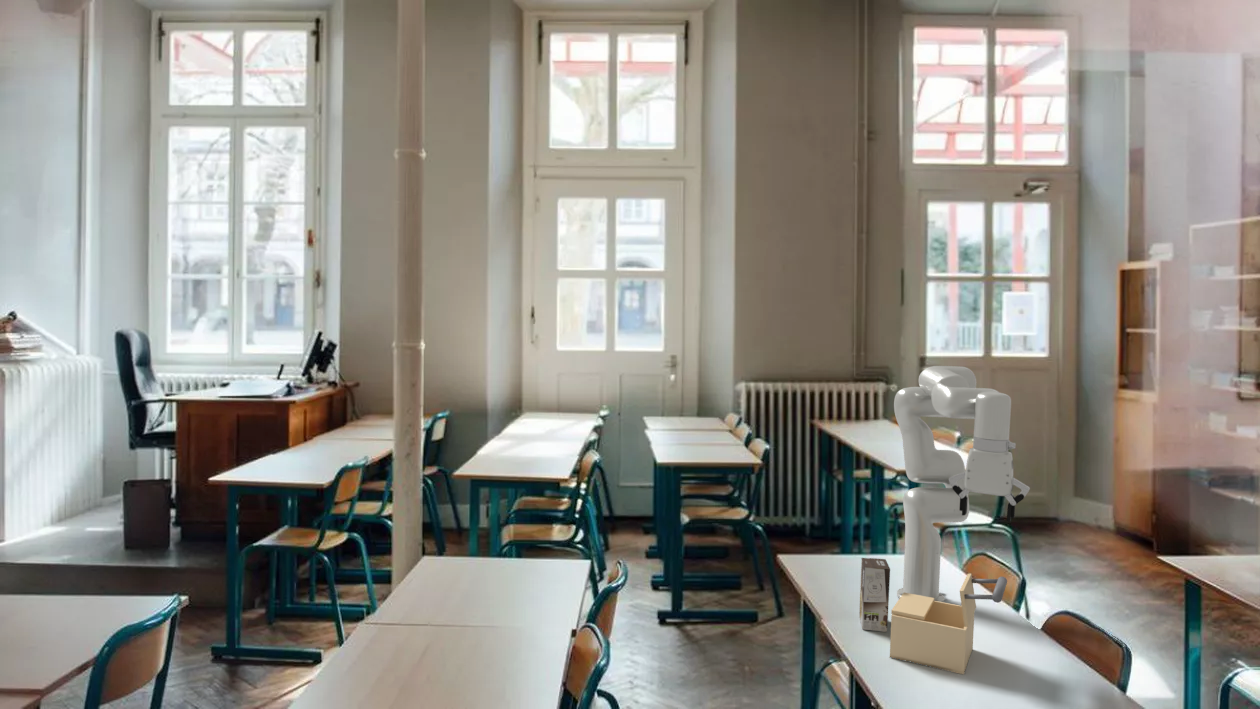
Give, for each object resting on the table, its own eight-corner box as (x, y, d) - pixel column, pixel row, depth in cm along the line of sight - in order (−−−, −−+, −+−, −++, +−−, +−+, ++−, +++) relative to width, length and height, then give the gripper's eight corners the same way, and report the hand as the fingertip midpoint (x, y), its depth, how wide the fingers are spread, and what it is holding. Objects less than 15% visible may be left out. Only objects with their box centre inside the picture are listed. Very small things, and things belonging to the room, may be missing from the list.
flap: (972, 607, 189) (1011, 608, 185) (964, 626, 176) (1005, 628, 172) (967, 573, 189) (1006, 574, 185) (959, 590, 177) (1000, 591, 172)
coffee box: (888, 632, 199) (890, 569, 198) (861, 629, 200) (864, 567, 199) (884, 619, 208) (886, 558, 207) (858, 616, 209) (861, 556, 208)
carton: (902, 634, 198) (904, 591, 197) (972, 649, 190) (974, 604, 189) (888, 657, 184) (890, 611, 183) (963, 674, 176) (966, 626, 175)
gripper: (1033, 447, 184) (1028, 519, 185) (953, 439, 192) (949, 508, 193) (1031, 452, 177) (1026, 527, 178) (948, 443, 186) (944, 515, 187)
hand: (986, 517), depth 186 cm, fingers open, 9 cm apart
